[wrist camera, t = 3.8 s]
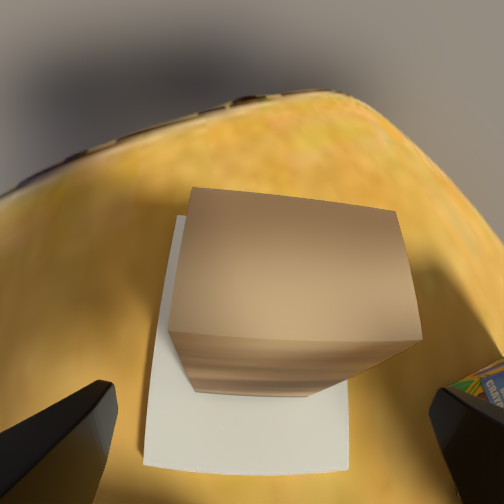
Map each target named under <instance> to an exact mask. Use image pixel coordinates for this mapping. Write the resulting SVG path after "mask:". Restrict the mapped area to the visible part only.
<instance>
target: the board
mask: <svg viewBox="0 0 504 504" xmlns="http://www.w3.org/2000/svg"><path fill="white" fill-rule="evenodd" d="M185 220H186V216H185V215H177V220H176V225H175V229H174V234H173V239H172V244H171V249H170V254H169V260H168V265H167V271H166V276H165V282H164V288H163V294H162V300H161V306H160V312H159V319H158V325H157V332H156V339H155V346H154V354H153V362H152V370H151V378H150V387H149V397H148V407H147V418H146V430H145V443H144V459H143V465H147V466H153V467H159V468H166V469H173V470H181V471H190V472H200V473H212V474H228V475H296V474H312V473H324V472H334V471H342V470H348V469H349V413H348V382H347V380H345V381H343V382H340V383H338V384H336V385H334V386H331V387H329V388H327V389H324V390H322V391H320V392H317V393H315V394H313V395H310V396H308V397H257V396H236V395H221V394H209V393H198V392H195V390H194V388H193V386H192V384H191V382H190V380H189V378H188V376H187V374H186V371H185V369H184V367H183V365H182V363H181V361H180V358H179V356H178V354H177V352H176V349H175V347H174V345H173V342H172V340H171V338H170V335H169V333H168V331H167V330H168V323H169V316H170V309H171V302H172V295H173V289H174V282H175V276H176V270H177V264H178V258H179V253H180V247H181V241H182V236H183V231H184V225H185Z"/></svg>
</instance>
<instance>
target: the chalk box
mask: <svg viewBox="0 0 504 504" xmlns="http://www.w3.org/2000/svg"><path fill="white" fill-rule="evenodd" d="M449 386H453V387H455V388H458V389H460V390H462V391H464V392H467V393H469V394H471V395H474V396H476V397H478V398H481V399H483V400H485V401H488V402H490V403H492V404H495V405H497V406H500V407H502V408H504V357H502V358H500V359H499V360H497V361H495V362H493V363H492V364H490V365H488V366H486V367H484V368H482V369H480V370H478V371H477V372H475V373H473V374H471V375H469V376H467V377H465V378H463V379H461V380H459V381H457V382H456V383H454V384H451V385H449ZM456 490H457V489H456ZM456 492H457V491H456ZM457 496H458V497H459V494H458V492H457Z"/></svg>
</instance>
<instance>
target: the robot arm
mask: <svg viewBox="0 0 504 504" xmlns="http://www.w3.org/2000/svg"><path fill="white" fill-rule="evenodd" d="M117 415H118V404H117V398H116V392H115V386H114V384H113V383H112V382H109V381H104V380H96V381H94V382H93V383H91V384H89V385H87V386H86V387H84V388H82V389H80V390H79V391H77V392H75V393H73V394H71V395H70V396H68V397H66V398H64V399H62V400H61V401H59V402H57V403H55V404H53V405H51V406H50V407H48V408H46V409H44V410H42V411H41V412H39V413H37V414H35V415H33V416H31V417H29V418H28V419H26V420H24V421H22V422H20V423H18V424H16V425H14V426H13V427H11V428H9V429H7V430H5V431H3V432H1V433H0V504H92V503H93V500H94V497H95V494H96V491H97V488H98V485H99V482H100V479H101V477H102V474H103V471H104V468H105V465H106V462H107V458H108V454H109V449H110V445H111V440H112V436H113V432H114V427H115V423H116V419H117ZM429 418H430V420H431V423H432V426H433V429H434V432H435V435H436V438H437V441H438V444H439V447H440V450H441V453H442V456H443V458H444V461H445V463H446V465H447V468H448V470H449V472H450V475H451V477H452V479H453V482H454V484H455V487H456V489H457V492H458V494H459V497H460V499H461V502H462V504H504V408H502V407H500V406H497V405H495V404H492V403H490V402H488V401H485V400H483V399H481V398H478V397H476V396H474V395H471V394H469V393H467V392H464V391H462V390H460V389H458V388H455V387H453V386H445V387H441V388H439V389H438V391H437V393H436V395H435V397H434V399H433V401H432V404H431V406H430V408H429Z"/></svg>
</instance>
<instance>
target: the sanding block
mask: <svg viewBox="0 0 504 504" xmlns="http://www.w3.org/2000/svg"><path fill="white" fill-rule="evenodd" d="M167 331H168V333H169V335H170V338H171V340H172V342H173V345H174V347H175V349H176V352H177V354H178V356H179V358H180V361H181V363H182V365H183V367H184V369H185V371H186V374H187V376H188V378H189V380H190V382H191V384H192V386H193V388H194V390H195V392H198V393H209V394H221V395H236V396H257V397H308V396H310V395H313V394H315V393H317V392H320V391H322V390H324V389H327V388H329V387H331V386H334V385H336V384H338V383H340V382H343V381H345V380H347V379H349V378H351V377H353V376H355V375H357V374H360V373H362V372H364V371H366V370H368V369H370V368H372V367H374V366H376V365H378V364H380V363H382V362H384V361H386V360H387V359H389V358H391V357H393V356H395V355H397V354H399V353H401V352H402V351H404V350H406V349H408V348H410V347H411V346H413V345H415V344H417V343H418V342H420V341H422V340H423V335H422V329H421V323H420V317H419V311H418V305H417V300H416V295H415V289H414V285H413V280H412V275H411V270H410V266H409V262H408V257H407V253H406V249H405V245H404V241H403V237H402V233H401V230H400V226H399V222H398V219H397V215H396V212H395V211H390V210H384V209H378V208H371V207H364V206H358V205H351V204H344V203H337V202H329V201H322V200H314V199H306V198H298V197H289V196H281V195H272V194H262V193H252V192H242V191H232V190H220V189H209V188H196V187H192V190H191V195H190V200H189V205H188V210H187V215H186V220H185V225H184V231H183V236H182V241H181V247H180V253H179V258H178V264H177V270H176V276H175V282H174V289H173V295H172V302H171V309H170V316H169V323H168V330H167Z"/></svg>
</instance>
